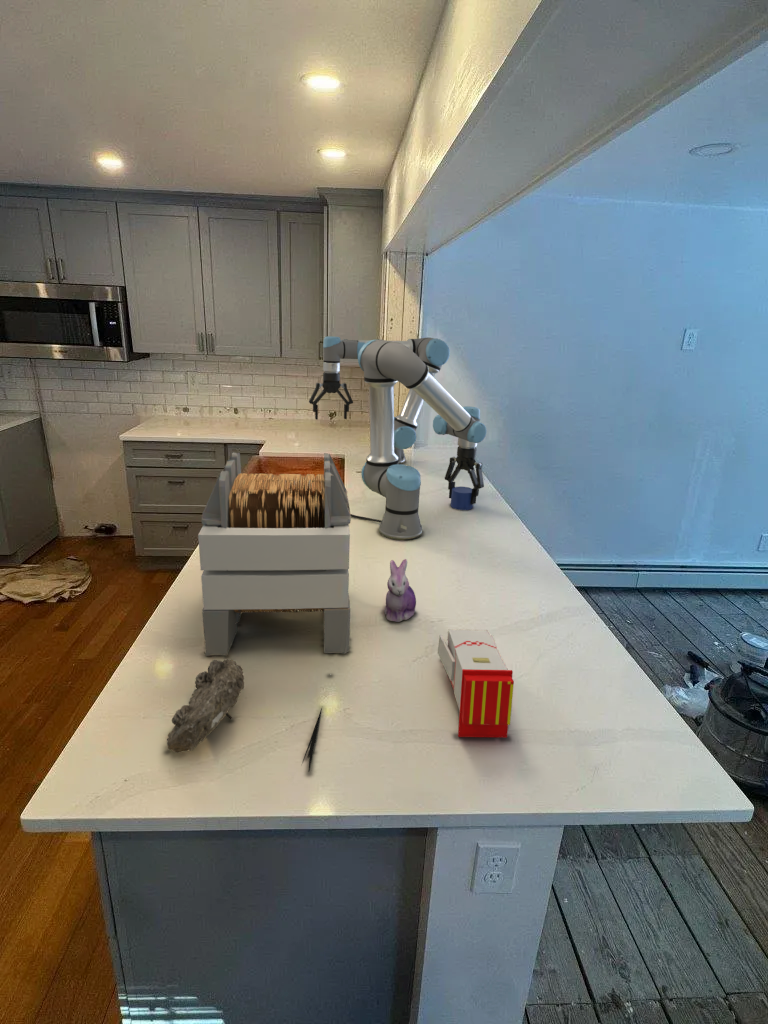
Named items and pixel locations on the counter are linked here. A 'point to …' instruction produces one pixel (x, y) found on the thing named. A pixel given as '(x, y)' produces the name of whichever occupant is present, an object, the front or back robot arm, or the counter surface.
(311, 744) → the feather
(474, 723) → the toy
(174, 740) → the fossil
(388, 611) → the figurine
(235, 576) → the transformer
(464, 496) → the canister
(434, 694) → the counter surface
